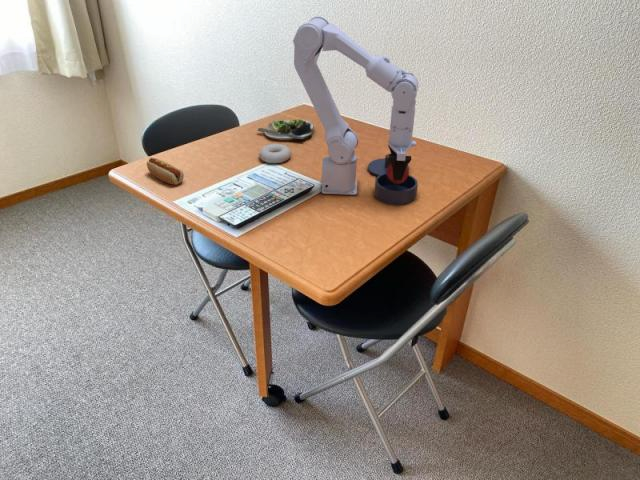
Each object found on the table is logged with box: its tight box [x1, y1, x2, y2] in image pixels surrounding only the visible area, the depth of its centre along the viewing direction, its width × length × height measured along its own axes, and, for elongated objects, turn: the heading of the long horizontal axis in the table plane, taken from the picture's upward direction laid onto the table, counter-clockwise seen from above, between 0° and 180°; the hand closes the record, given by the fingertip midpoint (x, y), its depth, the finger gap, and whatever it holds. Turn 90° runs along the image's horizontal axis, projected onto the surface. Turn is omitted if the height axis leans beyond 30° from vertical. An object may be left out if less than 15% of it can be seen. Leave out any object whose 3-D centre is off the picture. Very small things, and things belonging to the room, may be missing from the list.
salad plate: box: [256, 119, 315, 142], centre depth 166 cm, size 19×18×5 cm
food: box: [146, 157, 185, 186], centre depth 137 cm, size 14×6×5 cm, turn 49°
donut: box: [258, 143, 292, 164], centre depth 149 cm, size 10×4×10 cm
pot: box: [374, 173, 419, 206], centre depth 129 cm, size 11×11×4 cm
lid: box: [367, 153, 410, 177], centre depth 142 cm, size 12×12×5 cm
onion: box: [386, 163, 410, 185], centre depth 127 cm, size 6×6×8 cm
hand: (397, 174), depth 127 cm, fingers closed on onion, 6 cm apart
